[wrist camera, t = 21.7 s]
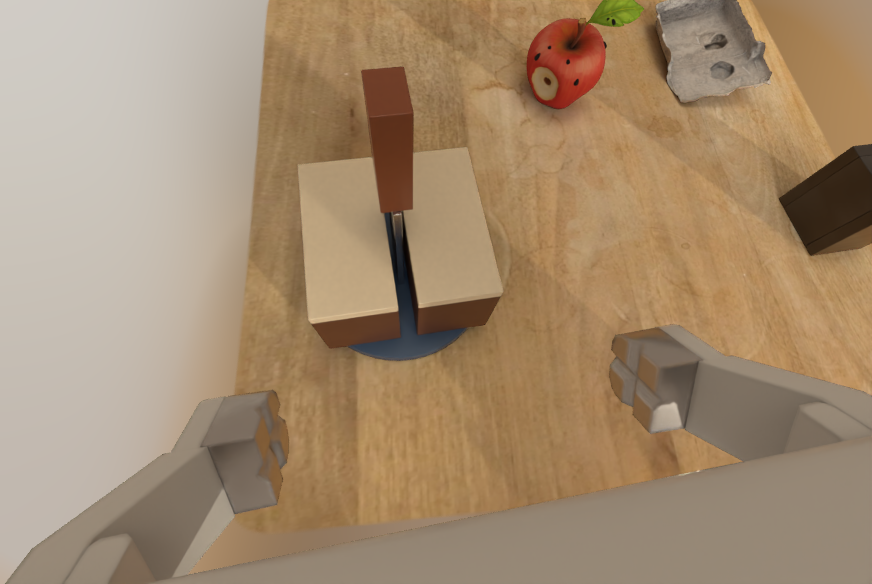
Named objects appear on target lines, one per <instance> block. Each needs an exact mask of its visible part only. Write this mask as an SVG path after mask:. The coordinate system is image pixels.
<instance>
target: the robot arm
mask: <svg viewBox="0 0 872 584" xmlns="http://www.w3.org/2000/svg"><path fill="white" fill-rule="evenodd" d="M611 350H612V351H613V353H614V354H615V355H616V358H615V359H614V361H613V362H612V363H611V365H610V371H609V378H610V382H611V386H612V389H613V391H614V393H615V395H616V396H617V397H618V398H619V400H620V401H621V402H622V403H625V404H627V405H629V406H631V407H633V415H634V417H635V418H636V419H637V420H638V421H639V422H640V423H641V424H642V426H643V427H644V428H645V429H646V430H647V431H648V432H649V433H650V434H652V433H658V432H664V431H671V430H677V429H683V428H685V430H686V431H688V432H690V433H692V434H693V435H695V436H697V437H699V438H701V439H703V440H705V441H707V442H708V443H710V444H712V445H714V446H716V447H718V448H720V449H721V450H723V451H725V452H727V453H729V454H731V455H733V456H734V457H736V458H738V459H740V460H742V461H744V462H739V463H735V464H730V465H725V466H720V467H715V468H710V469H705V470H700V471H695V472H690V473H685V474H680V475H675V476H670V477H665V478H660V479H656V480H651V481H646V482H641V483H636V484H631V485H626V486H621V487H616V488H611V489H606V490H601V491H596V492H591V493H586V494H581V495H576V496H571V497H567V498H562V499H557V500H552V501H547V502H542V503H537V504H532V505H527V506H523V507H518V508H513V509H508V510H503V511H498V512H493V513H488V514H484V515H479V516H474V517H469V518H464V519H459V520H454V521H449V522H445V523H440V524H435V525H430V526H425V527H420V528H415V529H411V530H406V531H401V532H396V533H391V534H386V535H381V536H376V537H371V538H366V539H361V540H357V541H351V542H346V543H342V544H337V545H332V546H327V547H322V548H317V549H312V550H308V551H302V552H298V553H293V554H287V555H283V556H278V557H273V558H268V559H263V560H258V561H253V562H248V563H243V564H238V565H234V566H229V567H224V568H219V569H214V570H209V571H204V572H199V573H194V574H189V575H187V574H188V573H189V572H190V571H191V569H192V568H193V567H194V566H195V565H196V563H197V562H198V561H199V560H200V559H201V557H202V556H203V555H204V553H205V552H206V551H207V550H208V549H209V548H210V546H211V545H212V544H213V543H214V541H215V540H216V539H217V538H218V537H219V535H220V534H221V533H222V532H223V530H224V529H225V528H226V527H227V526H228V524H229V523H230V522H231V521H232V519H233V518H234V517H235V515H234V514H238V513H242V512H247V511H251V510H256V509H260V508H265V507H270V506H274V505H277V504H278V499H279V495H280V491H281V486H282V482H283V477H282V474H281V470H280V469H281V468H282V467H283V466H284V465H285V464H286V463H287V459H288V454H289V436H288V429H287V425H286V422H285V420H284V419H282V418H281V417H280V416H278V412H279V408H280V402H279V399H278V396H277V393H276V392H275V391H274V390H268V391H260V392H253V393H246V394H239V395H232V396H228V397H218V398H213V399H207V400H204V401H202V402H200V403H199V404H198V406H197V408H196V409H195V411H194V413H193V415H192V416H191V418H190V420H189V422H188V423H187V425H186V427H185V429H184V430H183V432H182V434H181V436H180V437H179V439H178V441H177V442H176V444H175V446H174V448H173V449H172V451H171V453H165V454H162V455H161V456H159V457H158V458H157V459H155V460H154V461H152V462H151V463H150V464H148V465H147V466H146V467H144V468H143V469H141V470H140V471H139V472H137V473H136V474H134V475H133V476H132V477H130V478H129V479H128V480H126V481H125V482H123V483H122V484H121V485H119V486H118V487H117V488H115V489H114V490H113V491H111V492H110V493H108V494H107V495H106V496H104V497H103V498H102V499H100V500H99V501H97V502H96V503H94V504H93V505H92V506H90V507H89V508H88V509H86V510H85V511H83V512H82V513H81V514H79V515H78V516H77V517H75V518H74V519H72V520H71V521H70V522H68V523H67V524H66V525H64V526H63V527H61V528H60V529H59V530H57V531H56V532H54V533H53V534H52V535H50V536H49V537H48V538H47V539H45V540H44V541H42V542H41V543H39V544H38V545H37V546H35V547H34V548H32V549H31V551H30V552H29V553H28V554H27V556H26V557H25V558H24V560H23V561H22V562H21V564H20V565H19V566H18V567H17V569H16V570H15V571H14V573H13V574H12V575H11V577H10V578H9V579H8V581H7V582H6V583H5V584H872V396H871V395H869V394H867V393H866V392H864V391H860V390H856V389H853V388H849V387H845V386H842V385H838V384H834V383H831V382H827V381H823V380H820V379H816V378H812V377H809V376H805V375H801V374H798V373H794V372H791V371H787V370H783V369H780V368H776V367H772V366H769V365H765V364H761V363H758V362H754V361H750V360H747V359H743V358H739V357H736V356H725V355H723V354H722V353H720V352H719V351H717V350H716V349H714V348H713V347H711V346H710V345H708V344H707V343H705V342H704V341H702V340H701V339H699V338H698V337H696V336H695V335H693V334H692V333H690V332H689V331H687V330H686V329H684V328H683V327H681V326H680V325H675V324H670V325H665V326H660V327H655V328H651V329H646V330H640V331H635V332H629V333H624V334H618V335H615V337H614V339H613V341H612V349H611Z"/></svg>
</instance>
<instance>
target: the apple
mask: <svg viewBox="0 0 872 584" xmlns="http://www.w3.org/2000/svg"><path fill="white" fill-rule="evenodd" d="M643 10H644V8H643V7H642V6H640V5H639V4H638V3H636V2H635V1H634V0H603V1H602V2H601V4H600V5H599V6H598V8H597V9H596V11H595V12H594V14H593V16H592V17H591V19H590V20H589V21H588V22H586V18H581V19H580V20H577V19H570V18H566V19H560V20H557V21H555V22H553V23H551V24H549V25H548V26H546V27H545V28H544V29H542V30H541V31H540V32H539V33H538V34H537V36H536V37H535V38H534V40H533V42H532V43H531V46H530V48H529V51H528V55H527V75H528V80H529V82H530V85H531V87H532V90H533V93H534V95H535V97H536V99H537V100H538V101H539V102H540V103H542V104H545V105H547V106H550V107H552V108H555V109H562V108H565V107H567V106H569V105H570V104H571V103H573V102H574V101H575V100H577V99H578V98H580V97H581V96H582V95H584V94H585V93H587V92H588V91H589V90H591V89H592V88H593V87H594V86H595V85H596V83H597V82H598V80H599V79H600V77H601V75H602V72H603V69H604V64H605V49H606V47H607V45H606V43H605V42H604V41H603V38H602V36H601V34H600V33H599V31H598V30H597V29H596V28H595V27H594V26H592V25H591V24H589V23H597V24H601V25H604V26H613V27H620V26H624V24H628V23H630V22H632V21H634V20H636V19H637V18H638V17H639V16H640V13H641V12H642V11H643ZM623 23H624V24H623Z"/></svg>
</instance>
